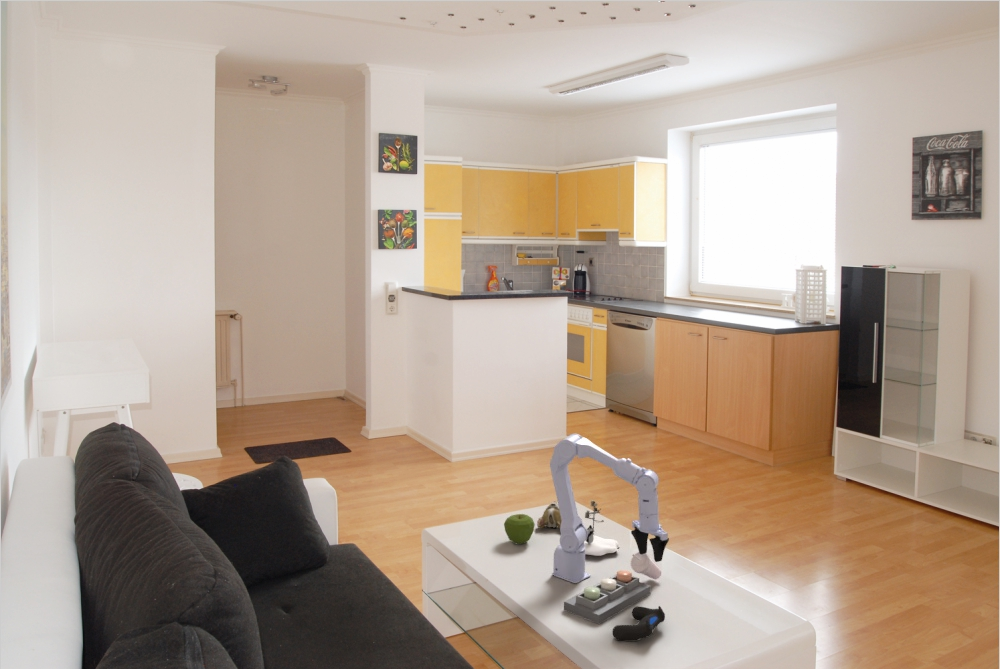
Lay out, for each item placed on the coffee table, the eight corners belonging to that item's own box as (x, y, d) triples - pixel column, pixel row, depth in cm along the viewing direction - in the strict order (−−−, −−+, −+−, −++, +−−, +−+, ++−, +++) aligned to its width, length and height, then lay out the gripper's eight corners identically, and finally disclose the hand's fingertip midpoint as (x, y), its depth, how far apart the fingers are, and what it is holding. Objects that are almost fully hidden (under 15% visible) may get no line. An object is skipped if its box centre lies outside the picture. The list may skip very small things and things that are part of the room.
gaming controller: (617, 652, 201) (649, 641, 196) (607, 630, 202) (639, 620, 197) (642, 626, 215) (672, 616, 210) (632, 606, 216) (662, 595, 211)
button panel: (563, 609, 218) (564, 594, 218) (616, 582, 237) (616, 567, 237) (598, 623, 210) (599, 608, 210) (650, 593, 229) (650, 579, 229)
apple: (515, 534, 277) (515, 507, 276) (540, 541, 271) (540, 513, 269) (497, 543, 268) (498, 515, 267) (523, 550, 262) (523, 521, 261)
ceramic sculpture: (569, 497, 291) (565, 513, 277) (568, 519, 293) (565, 536, 278) (540, 496, 293) (535, 511, 278) (540, 518, 294) (536, 534, 280)
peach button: (613, 580, 229) (613, 573, 229) (621, 575, 232) (622, 569, 232) (626, 584, 226) (626, 577, 226) (634, 579, 229) (634, 573, 229)
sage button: (580, 597, 217) (581, 590, 217) (590, 592, 221) (590, 585, 220) (593, 602, 214) (593, 595, 214) (603, 597, 218) (603, 590, 217)
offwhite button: (597, 588, 223) (597, 581, 223) (606, 583, 226) (606, 577, 226) (610, 593, 220) (610, 586, 220) (619, 588, 223) (619, 581, 223)
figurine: (610, 561, 251) (611, 511, 251) (557, 552, 259) (559, 503, 259) (627, 547, 269) (629, 500, 269) (577, 539, 277) (579, 493, 277)
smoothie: (668, 577, 236) (643, 560, 228) (650, 587, 238) (626, 570, 230) (661, 559, 241) (637, 542, 233) (644, 569, 243) (620, 552, 235)
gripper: (675, 515, 225) (677, 561, 226) (644, 504, 238) (646, 547, 239) (655, 520, 222) (657, 566, 223) (625, 508, 235) (627, 552, 236)
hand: (650, 557), depth 230 cm, fingers open, 7 cm apart
